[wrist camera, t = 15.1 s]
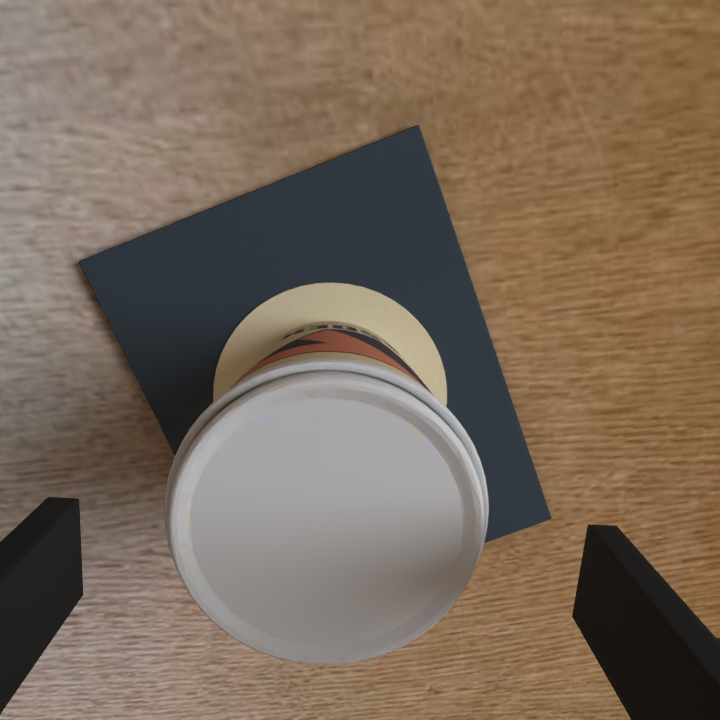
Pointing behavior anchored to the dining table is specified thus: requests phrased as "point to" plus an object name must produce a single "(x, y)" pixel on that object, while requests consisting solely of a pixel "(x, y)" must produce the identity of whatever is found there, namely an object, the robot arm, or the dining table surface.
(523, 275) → the dining table surface
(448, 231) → the place mat
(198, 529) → the coffee cup
